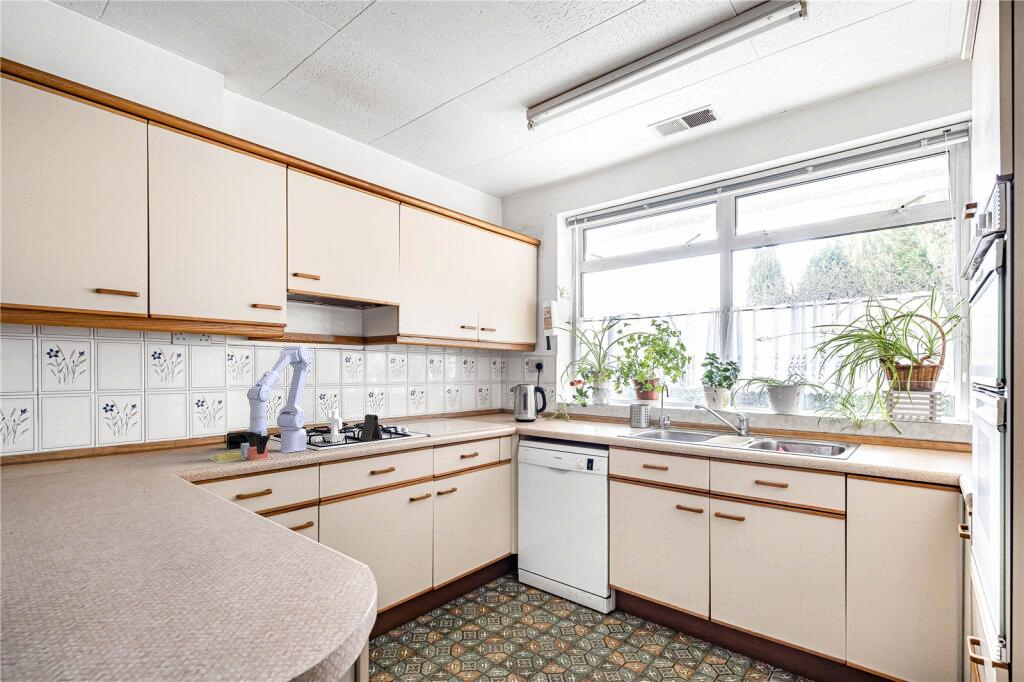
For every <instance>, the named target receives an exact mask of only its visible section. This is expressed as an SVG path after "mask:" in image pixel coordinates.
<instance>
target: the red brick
mask: <svg viewBox="0 0 1024 682" xmlns="http://www.w3.org/2000/svg"><path fill="white" fill-rule="evenodd" d="M263 459H264V460H265V459H268V446H266V448H265V452H264V454H257V448H256V447H248V448H247V455H246V460H249V461H254V460H263Z"/></svg>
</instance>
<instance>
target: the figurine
mask: <svg viewBox="0 0 1024 682" xmlns="http://www.w3.org/2000/svg"><path fill="white" fill-rule="evenodd" d="M326 420H327V422H328V423H330V433H326V434H322V436H323V438H324V439H325V442H327V441H330V442H337V441H341V442H342V441H343V440H344V438H345V436H346V433H340V432H338V431H339V430H342V429H343V420H342V418H341V417H339V410H338V409H331V410H327V414H326Z"/></svg>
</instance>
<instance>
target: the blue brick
mask: <svg viewBox="0 0 1024 682" xmlns="http://www.w3.org/2000/svg"><path fill="white" fill-rule="evenodd" d="M248 447H250V446H249V443H242V444H241V449H240V453H242V456H244V457H246V456H247V448H248Z"/></svg>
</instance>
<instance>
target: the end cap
mask: <svg viewBox="0 0 1024 682" xmlns="http://www.w3.org/2000/svg"><path fill="white" fill-rule="evenodd" d="M247 433H250V432H247V431H240V432H227V433H226V448H227V450H228V451H231V450H241V444H242V443H249V442H248V439H247V437H246V435H245V434H247Z"/></svg>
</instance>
